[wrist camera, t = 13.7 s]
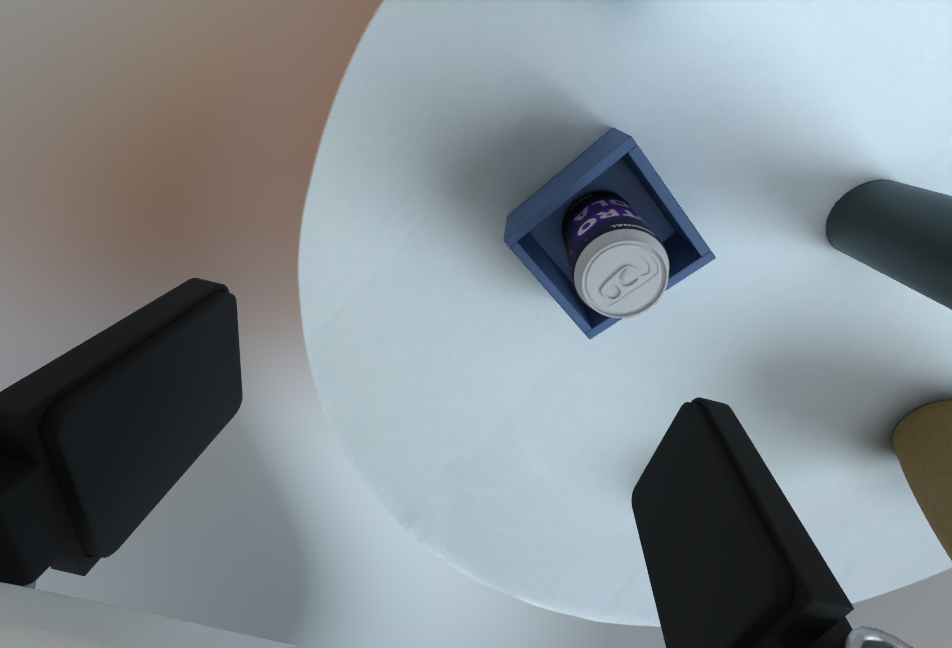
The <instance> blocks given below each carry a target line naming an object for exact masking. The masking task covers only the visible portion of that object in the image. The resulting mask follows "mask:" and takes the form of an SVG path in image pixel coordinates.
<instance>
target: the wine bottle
mask: <svg viewBox="0 0 952 648" xmlns="http://www.w3.org/2000/svg"><path fill="white" fill-rule="evenodd" d="M827 236H828V239H829V241H830V243H831V244H832V245H833V246H834V247H835V248H836V249H837V250H839V251H841V252H843V253H845V254H847V255H849V256H850V257H852V258H854V259H856V260H858V261H860V262H862V263H864V264H866V265H868V266H869V267H871V268H873V269H875V270H877V271H879V272H881V273H883V274H885V275H887V276H889V277H890V278H892V279H894V280H896V281H898V282H900V283H902V284H904V285H906V286H908V287H909V288H911V289H913V290H915V291H917V292H919V293H921V294H923V295H925V296H927V297H929V298H930V299H932V300H934V301H936V302H938V303H940V304H942V305H944V306H946V307H948V308H950V309H951V310H952V196H949V195H945V194H942V193H938V192H934V191H930V190H926V189H922V188H918V187H914V186H910V185H907V184H903V183H899V182H895V181H890V180H877V181H872V182H868V183H865V184H863V185H860V186H858V187H856V188H855V189H853V190H851V191H850V192H848V193H847V194H846V195H845V196H844V197H842V198H841V199H840V200H839V202H838V203H837V204H836V205H835V207H834V208H833V210H832V211H831V213H830V216H829V218H828V221H827Z"/></svg>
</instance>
